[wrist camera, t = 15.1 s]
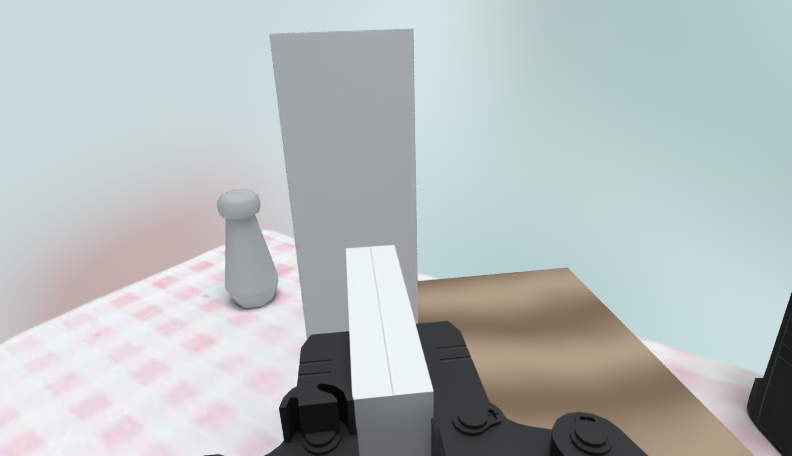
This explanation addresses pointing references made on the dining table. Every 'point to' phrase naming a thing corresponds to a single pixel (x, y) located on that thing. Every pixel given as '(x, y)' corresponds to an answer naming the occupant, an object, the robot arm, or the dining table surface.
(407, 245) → the sliding door
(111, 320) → the dining table surface
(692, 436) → the wooden cabinet
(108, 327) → the dining table surface
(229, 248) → the salt shaker
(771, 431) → the portable radio
